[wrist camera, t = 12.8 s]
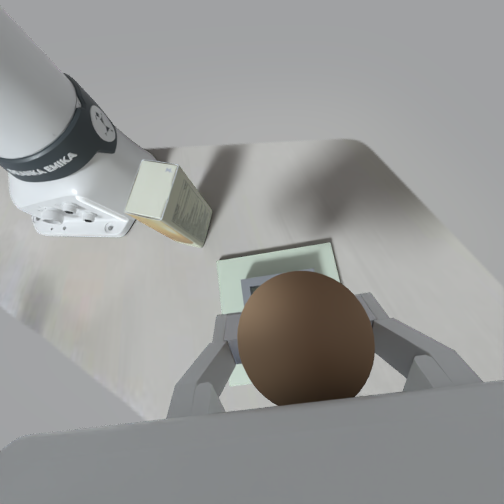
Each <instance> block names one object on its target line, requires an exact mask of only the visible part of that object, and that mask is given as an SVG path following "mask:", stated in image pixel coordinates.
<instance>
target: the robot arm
mask: <svg viewBox="0 0 504 504" xmlns="http://www.w3.org/2000/svg"><path fill="white" fill-rule="evenodd" d="M142 160H153V161H157V160H156V159H155V158H154V156H153V155H152V154H150V153H149V152H148V151H146V150H144V149H143V148H141V147H140V146H138V145H137V144H136V143H134V142H133V141H132V140H130V139H129V138H128V137H127V136H125V135H124V134H123V133H122V132H121V131H119V130H118V129H117V128H116V127H115V126H114V125H113V124H112V122H111V121H110V120H109V118H108V117H107V116H106V114H105V113H104V112H103V111H102V109H101V108H100V107H99V106H98V105H97V104H96V102H95V101H94V100H93V99H92V98H91V97H90V96H89V95H88V94H87V93H86V92H85V91H84V90H83V88H81V86H80V85H79V84H78V83H77V82H76V81H75V80H74V79H73V78H71V77H70V76H69V75H67V74H65V73H63V72H62V71H61V70H60V69H59V68H58V67H57V66H56V65H55V64H54V63H53V62H52V61H51V60H50V58H49V57H48V56H47V55H46V54H45V53H44V52H43V51H42V50H41V49H40V48H39V47H38V46H37V44H36V43H35V42H34V41H33V40H32V39H31V38H30V37H29V36H28V35H27V34H26V33H25V32H24V30H23V29H22V28H21V27H20V26H19V25H18V24H17V23H16V22H15V21H14V20H13V19H12V17H11V16H10V15H8V13H7V12H6V11H5V10H4V9H3V8H2V7H1V6H0V166H2V167H3V168H4V169H5V170H6V171H8V179H9V192H10V196H11V199H12V201H13V203H14V204H15V206H16V207H17V208H19V209H20V210H22V211H24V212H26V213H28V214H30V215H31V216H32V221H33V224H34V227H35V229H36V231H37V232H38V233H39V234H42V235H44V236H78V237H122V236H124V235H125V234H126V233H127V232H128V231H129V229H130V227H131V226H132V224H133V222H134V221H135V220H136V219H135V218H133V217H131V216H129V215H128V214H126V213H124V209H125V206H126V203H127V200H128V197H129V194H130V191H131V188H132V185H133V182H134V179H135V176H136V174H137V171H138V169H139V166H140V164H141V161H142ZM112 228H113V229H112ZM111 229H112V230H111ZM355 297H356V298H357V299H358V300H359V301H360V303H361V304H362V306H363V308H364V309H365V311H366V313H367V315H368V317H369V320H370V323H371V326H372V329H373V334H374V342H375V353H376V354H377V355H379V356H380V357H381V358H382V359H383V360H385V361H386V362H387V363H388V364H390V365H391V366H392V367H393V368H395V369H396V370H397V371H398V372H399V373H401V374H402V375H403V376H404V377H406V378H407V380H406V383H405V386H404V389H403V391H402V392H395V393H386V394H378V395H369V396H360V397H352V398H343V399H334V400H326V401H317V402H308V403H300V404H291V405H283V406H274V407H265V408H257V409H248V410H239V411H231V412H225V410H224V408H223V406H222V404H221V402H220V400H219V396H220V394H221V392H222V391H223V389H224V387H225V385H226V383H227V381H228V380H229V378H230V376H231V374H232V372H233V370H234V368H235V367H236V364H242V362H241V359H240V356H239V350H238V341H237V334H238V325H239V319H240V316H241V313H242V312H236V313H228V314H221V315H217V317H216V321H215V328H214V334H213V341H212V343H209V344H208V346H207V347H206V348H205V349H204V351H203V352H202V353H201V354H200V355H199V357H198V358H197V359H196V360H195V362H194V363H193V364H192V365H191V367H190V368H189V369H188V370H187V372H186V373H185V374H184V375H183V376H182V378H181V379H180V380H179V381H178V383H177V384H176V385H175V388H174V392H173V396H172V399H171V403H170V407H169V410H168V414H167V418H166V419H162V420H153V421H144V422H136V423H127V424H118V425H109V426H101V427H92V428H83V429H75V430H66V431H57V432H48V433H39V434H30V435H25V436H22V437H19V438H17V439H16V440H14V441H12V442H11V443H10V444H8V445H7V446H6V447H4V448H3V449H2V450H0V504H504V380H499V381H490V382H483V381H482V380H481V379H480V378H479V377H478V375H477V374H476V373H475V372H474V371H473V370H472V369H471V368H470V367H469V366H468V365H467V363H466V362H465V361H464V360H463V359H462V358H461V357H460V356H459V355H458V354H457V352H456V351H455V350H453V349H451V348H449V347H447V346H445V345H443V344H442V343H440V342H438V341H436V340H434V339H432V338H430V337H428V336H427V335H425V334H423V333H421V332H419V331H417V330H415V329H413V328H411V327H410V326H408V325H406V324H404V323H402V322H400V321H398V320H396V319H395V318H389V316H388V315H387V314H386V312H385V311H384V310H383V308H382V307H381V306H380V304H379V303H378V302H377V300H376V299H375V298H374V296H373V295H372V294H371V293H370V292H369V293H363V294H356V295H355Z"/></svg>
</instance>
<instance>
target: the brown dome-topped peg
mask: <svg viewBox="0 0 504 504" xmlns="http://www.w3.org/2000/svg"><path fill="white" fill-rule="evenodd" d="M237 341H238V350H239V356H240V359H241V362H242V365H243V367H244V369H245V372H246V374H247V375H248V377H249V379H250V380H251V382H252V383H253V385H254V386H255V387H256V388H257V390H258V391H259V392H260V393H261V394H262V395H263V396H265V397H266V398H267V399H268V400H270V401H271V402H272V403H274V404H276V405H278V406H283V405H291V404H300V403H308V402H317V401H326V400H334V399H343V398H352V397H355V396H356V395H357V394H358V393H359V392H360V390H361V389H362V387H363V386H364V385H365V383H366V381H367V379H368V377H369V375H370V372H371V369H372V366H373V361H374V353H375V342H374V334H373V329H372V326H371V323H370V320H369V317H368V315H367V313H366V311H365V309H364V308H363V306H362V304H361V303H360V301H359V300H358V299H357V298H356V297H355V295H354V294H353V293H352V292H351V291H350V290H349V289H348V288H346V287H345V286H344V285H342V284H341V283H340V282H338V281H336V280H334V279H333V278H331V277H328V276H326V275H323V274H320V273H317V272H311V271H291V272H286V273H282V274H280V275H277V276H275V277H273V278H271V279H269V280H267V281H266V282H264V283H263V284H262V285H260V286H259V287H258V288H257V289H256V290H255V291H254V293H253V294H252V295H251V296H250V298H249V299H248V301H247V302H246V304H245V306H244V308H243V310H242V313H241V316H240V319H239V325H238V334H237Z"/></svg>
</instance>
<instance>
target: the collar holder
mask: <svg viewBox="0 0 504 504" xmlns="http://www.w3.org/2000/svg"><path fill="white" fill-rule="evenodd" d="M216 263H217V272H218V282H219V291H220V300H221V310H222V314H228V313H236V312H242V310H243V308H244V306H245V304H246V302H247V301H248V299H249V298H250V296H251V295H252V294H253V293H254V291H255V290H256V289H257V288H258V287H259V286H260V285H262V284H263V283H264V282H266V281H267V280H269V279H271V278H273V277H275V276H277V275H280V274H282V273H286V272H291V271H311V272H317V273H320V274H323V275H326V276H328V277H331V278H333V279H334V280H336V281H338V282H340V280H339V276H338V272H337V268H336V264H335V260H334V255H333V251H332V247H331V243H330V242H329V243H323V244H317V245H311V246H305V247H299V248H293V249H287V250H281V251H275V252H269V253H263V254H257V255H251V256H244V257H238V258H232V259H226V260H220V261H216ZM246 384H253V383H252V382H251V380H250V379H249V377H248V375H247V374H246V372H245V369H244V367H243V365H242V364H236V367H235V368H234V370H233V372H232V374H231V376H230V378H229V385H230V386H238V385H246Z"/></svg>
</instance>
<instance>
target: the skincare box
mask: <svg viewBox="0 0 504 504" xmlns="http://www.w3.org/2000/svg"><path fill="white" fill-rule="evenodd" d="M124 213H126V214H128V215H129V216H131V217H133V218H135V219H137V220H138V221H140V222H142V223H144V224H145V225H147V226H149V227H151V228H153V229H154V230H156V231H158V232H160V233H162V234H163V235H165V236H167V237H169V238H171V239H172V240H174V241H176V242H178V243H182V244H186V245H190V246H195V247H200V248H202V247H203V245H204V241H205V238H206V235H207V231H208V227H209V224H210V220H211V215H212V209H211V208H210V207H209V205H208V204H207V203H206V201H205V200H204V199H203V197H202V196H201V195H200V193H199V192H198V191H197V189H196V188H195V186H194V185H193V184H192V182H191V181H190V180H189V178H188V177H187V176H186V174H185V173H184V172H183V170H182V169H181V167H180V166H179V165H178V164H172V163H166V162H160V161H153V160H142V161H141V164H140V166H139V169H138V171H137V174H136V176H135V179H134V182H133V185H132V188H131V191H130V194H129V197H128V200H127V203H126V206H125V209H124Z"/></svg>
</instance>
